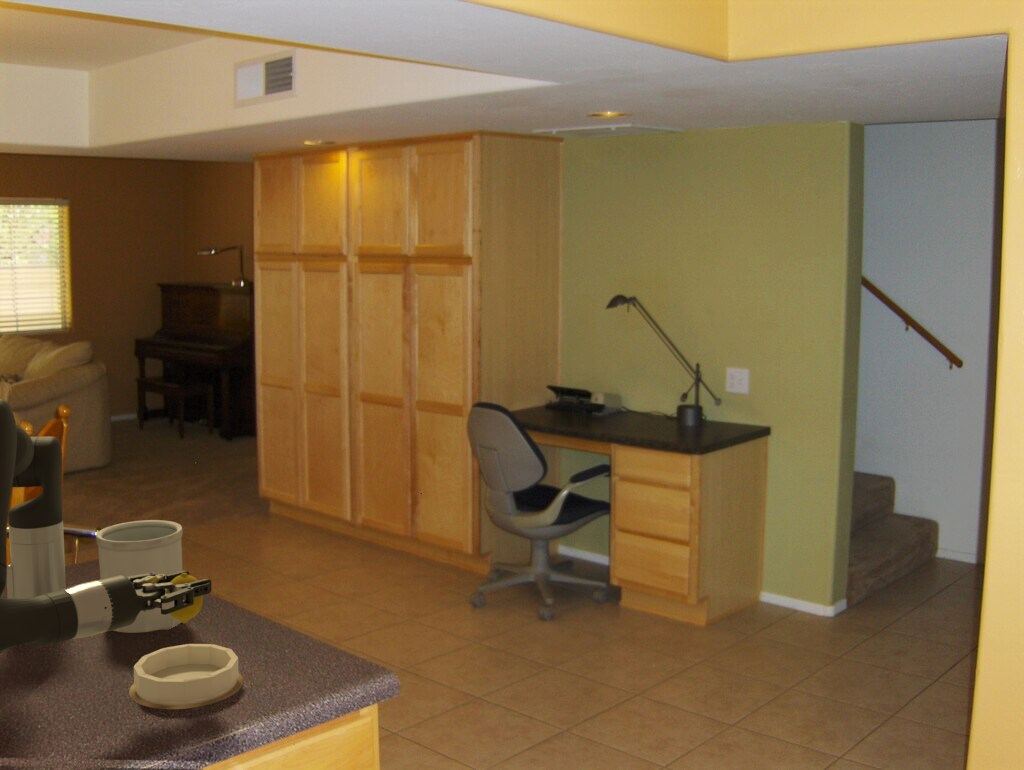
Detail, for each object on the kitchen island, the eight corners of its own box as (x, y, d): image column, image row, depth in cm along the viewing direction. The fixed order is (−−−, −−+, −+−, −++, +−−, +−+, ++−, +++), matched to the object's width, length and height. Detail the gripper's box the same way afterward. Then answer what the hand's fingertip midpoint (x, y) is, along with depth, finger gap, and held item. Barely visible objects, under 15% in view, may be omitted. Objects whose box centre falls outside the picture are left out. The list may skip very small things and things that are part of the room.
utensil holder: (83, 635, 189) (79, 539, 187) (123, 607, 204) (120, 517, 201) (163, 640, 187) (160, 543, 185) (198, 611, 202) (195, 521, 200)
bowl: (121, 705, 159) (120, 680, 159) (155, 665, 174) (154, 643, 173) (222, 706, 159) (221, 682, 159) (247, 667, 174) (246, 644, 173)
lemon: (192, 631, 162) (191, 580, 161) (158, 627, 163) (158, 576, 162) (209, 619, 167) (209, 569, 166) (177, 615, 168) (176, 566, 167)
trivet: (112, 713, 158) (112, 708, 158) (151, 668, 175) (151, 663, 175) (227, 715, 158) (227, 709, 158) (255, 669, 175) (255, 664, 175)
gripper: (122, 592, 148) (226, 567, 161) (70, 571, 158) (172, 548, 170) (123, 644, 149) (226, 615, 162) (72, 620, 159) (173, 594, 171)
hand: (198, 581), depth 166 cm, fingers closed on lemon, 5 cm apart
